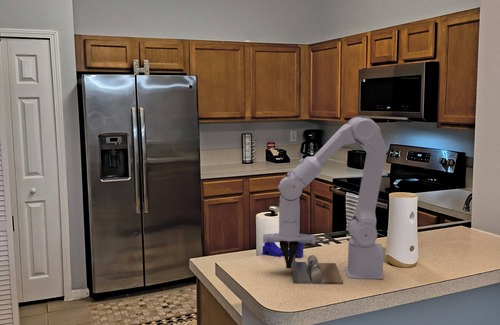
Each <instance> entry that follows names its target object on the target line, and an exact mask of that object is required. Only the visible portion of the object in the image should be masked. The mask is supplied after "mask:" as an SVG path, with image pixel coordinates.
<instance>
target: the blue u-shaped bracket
mask: <svg viewBox="0 0 500 325" xmlns="http://www.w3.org/2000/svg"><path fill="white" fill-rule="evenodd" d="M263 244H264V245H263V246H262V255H263V256H266V255H267V256H268V257H277V258H282V257H284V255H283V252H282V250H281V248H280V246H278V244H276V242H267V243H263ZM297 256H298V257H297ZM303 256H304V243H299V247H298V249H297V251H296V253H295V258H297V259H301V258H303ZM288 258H289V254H288Z"/></svg>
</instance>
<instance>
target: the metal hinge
mask: <svg viewBox="0 0 500 325" xmlns="http://www.w3.org/2000/svg"><path fill="white" fill-rule="evenodd" d="M319 263H320V262H319V260H318V261H316V260H312V261H310V262H309V266H308V262H307V261H297V260H296V257H295V255H294V258H293V261H292V265H291V268H290V269H291V275H292V283H293V284H311V274H310V271H311V269H312V268H314V267H317V268H319V269H320V265H319ZM320 270H321V269H320Z"/></svg>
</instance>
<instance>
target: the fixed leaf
mask: <svg viewBox="0 0 500 325" xmlns="http://www.w3.org/2000/svg"><path fill="white" fill-rule="evenodd" d="M312 260H316V261H318V263H319V265H320V269H321V270H320V269H319V268H317V267H314V268H312V269H311V271H310V274H311V277H310V280H311V281H312V282H313V284H315V285H343V284H344V281H343V279H342V276H341V273H340V271H339V269H338V266H337V264H336V263H335V262H319V260H318V258H317V256H316V255H313V254H312V255H309V256H308V257H307V260H306V262H307V267H309V262H310V261H312Z"/></svg>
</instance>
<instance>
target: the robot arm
mask: <svg viewBox="0 0 500 325" xmlns="http://www.w3.org/2000/svg"><path fill="white" fill-rule="evenodd" d="M381 132H382V131H381V127H380V126H379V125H378V124H377V123H376V122H375V121H374V120H373V119H371V118H369V117H362V116H354V117H352V118H351V119H349V120H348V122H347V123H344V124H343V125H342V126H341V127H339V129H338V130H337V131H336V132H335V133H334V134H333V135H332V136H331V137H330V138H329V139H328V140H327V142H326V143H325V144H324V145H323V146H322V147H320V149H319V150H318V151H317V152H316V153H315V154H314V155H312V156H306V157H305V158H300V160H299V161H298V163H299V164H298V165H297V166H295V167H294V168H293V170H292V171H288V172H287V174H286V176H285V177H282V179H281V180H280V182H279V184H278V186H277V188H278V191H279V192H280V195H279V204H278V207H279V208H278V220H279V221H278V233H277V232H276V233H263V234H262V243H263V244H264V243H267V242H275V243H279V248H281V250H282V252H283V255H284V256H283V257H284V261H285V268H286V269H292V268H291V265H292V261H293V258H294V255H295V253H296V251H297V249H298V247H299V243H303V244H304V243H306V244H308V243H309V244H313V245H314V244H316V234H306V233H300V229H301V228H300V226H301V225H300V220H301V219H300V218H301V216H300V214H301V204H300V197H301V195H302V193H303V189H304V188H306V187H307V186H308V185H310V183H311V182H312V181H314V180H315V179H316V178H317V177H318V176H319V174H320V173H322V170H323V169H322V167H323V164H324V163H325V162H326V161H328V160H329V159H330V158H331V157H332V156H333V155H334V154H335V153H337V151H338V150H340V149H341V148H342V147H344V146H345V145H350V144H355V143H356V142H357V143H359V145H360V147H362V148H363V150H364V151H365V152H366V155H365V161H364V167H363V170H362V176H361V180H360V181H361V182H360V188H359V192H358V198H357V203H356V204H357V205H356V208H354V211H353V212H352V213H353V214H352V217H351V219H350V220H349V221H348V223H347V232H348V233H349V235H350V237H349V239H348V247H347V248H348V249H347V266H344V271H345V273H346V275H347V278H348V279H365V280H366V279H368V280H369V279H371V280H383V279H384V276H383V274H384V249H383V248H384V247H383V245H382V244H381V243H376V241H377V239H378V231H377V216H376V208H377V202H378V198H379V193H380V188H381V182H382V177H383V171H384V165H385V159H386V156H387V155H386V154H387V146H386V142H385V140H384V138H383V135H382V133H381ZM288 254H289V257H288Z"/></svg>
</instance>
